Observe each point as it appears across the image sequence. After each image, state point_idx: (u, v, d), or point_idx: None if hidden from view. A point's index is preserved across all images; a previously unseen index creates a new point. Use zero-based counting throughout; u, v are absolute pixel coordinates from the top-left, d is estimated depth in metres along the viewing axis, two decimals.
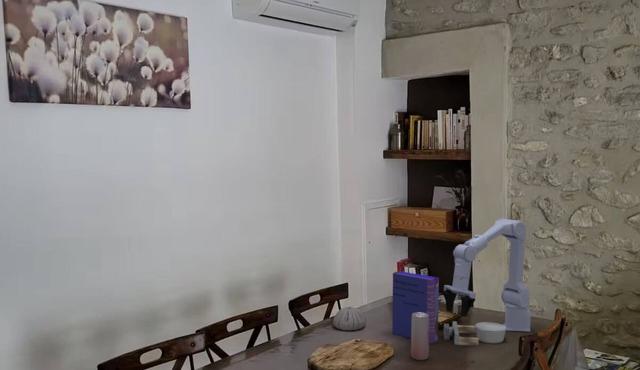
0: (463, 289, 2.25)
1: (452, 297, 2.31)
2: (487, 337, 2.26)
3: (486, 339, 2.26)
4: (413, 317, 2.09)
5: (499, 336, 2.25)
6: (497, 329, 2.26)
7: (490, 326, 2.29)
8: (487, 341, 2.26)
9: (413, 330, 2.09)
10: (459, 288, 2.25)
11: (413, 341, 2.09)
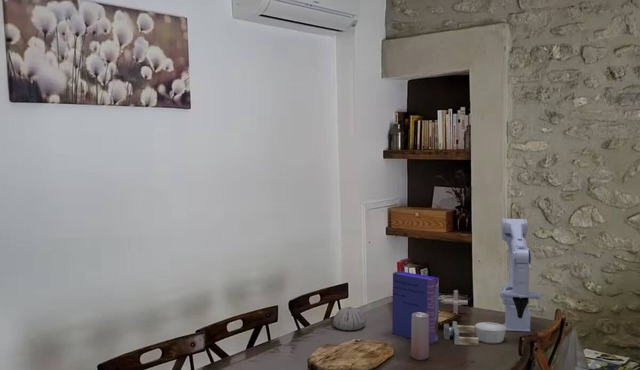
0: (528, 293, 2.26)
1: None
2: (487, 337, 2.26)
3: (486, 339, 2.26)
4: (413, 317, 2.09)
5: (499, 336, 2.25)
6: (497, 329, 2.26)
7: (491, 326, 2.29)
8: (487, 341, 2.26)
9: (413, 330, 2.09)
10: (526, 293, 2.25)
11: (413, 341, 2.09)
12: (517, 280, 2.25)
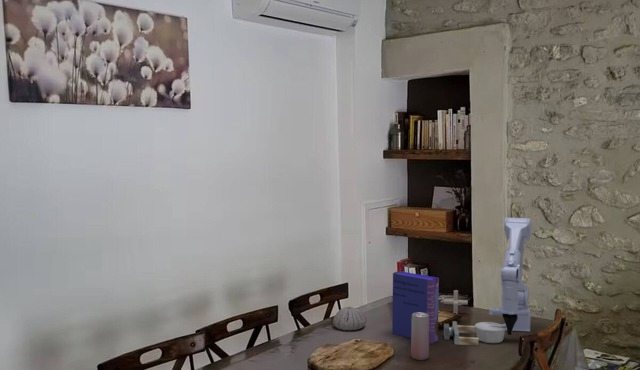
0: (517, 309, 2.27)
1: None
2: (486, 337, 2.26)
3: (486, 339, 2.26)
4: (413, 317, 2.09)
5: (499, 336, 2.25)
6: (496, 329, 2.26)
7: (490, 326, 2.29)
8: (487, 341, 2.26)
9: (413, 330, 2.09)
10: (515, 310, 2.26)
11: (413, 341, 2.09)
12: (505, 297, 2.26)
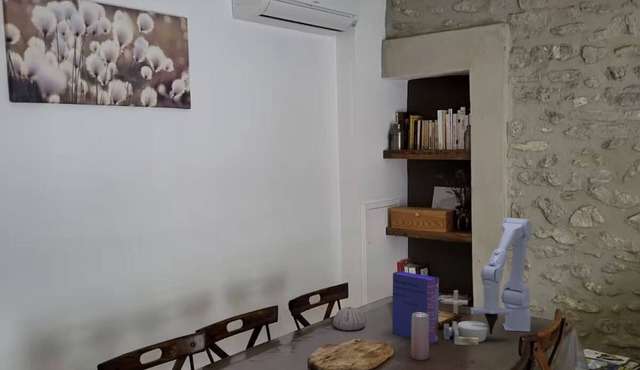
0: (498, 309, 2.28)
1: None
2: (469, 335, 2.27)
3: None
4: (413, 317, 2.09)
5: (481, 335, 2.26)
6: (479, 328, 2.27)
7: (473, 325, 2.30)
8: None
9: (413, 330, 2.09)
10: (497, 309, 2.27)
11: (413, 341, 2.09)
12: (484, 295, 2.28)
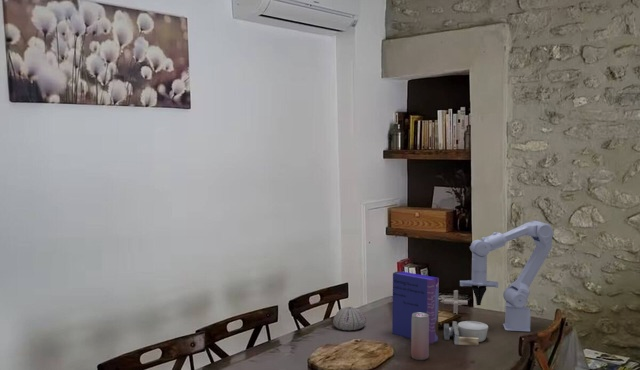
0: (486, 281, 2.40)
1: None
2: (469, 335, 2.27)
3: None
4: (413, 317, 2.09)
5: (482, 335, 2.26)
6: (479, 328, 2.27)
7: (473, 325, 2.30)
8: None
9: (413, 330, 2.09)
10: (484, 281, 2.39)
11: (413, 341, 2.09)
12: None
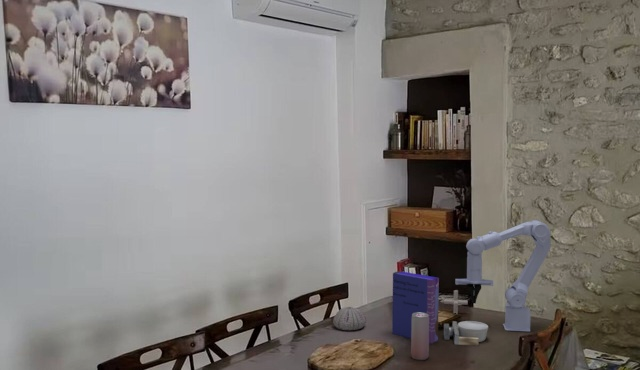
0: (481, 279, 2.43)
1: None
2: (469, 335, 2.27)
3: None
4: (413, 317, 2.09)
5: (482, 335, 2.26)
6: (479, 328, 2.27)
7: (473, 325, 2.30)
8: None
9: (413, 330, 2.09)
10: (479, 280, 2.42)
11: (413, 341, 2.09)
12: None
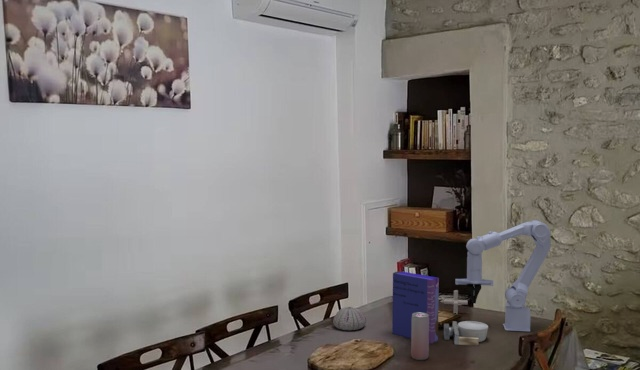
0: (481, 279, 2.43)
1: None
2: (469, 335, 2.27)
3: None
4: (413, 317, 2.09)
5: (482, 335, 2.26)
6: (479, 328, 2.27)
7: (473, 325, 2.30)
8: None
9: (413, 330, 2.09)
10: (479, 280, 2.42)
11: (413, 341, 2.09)
12: None
